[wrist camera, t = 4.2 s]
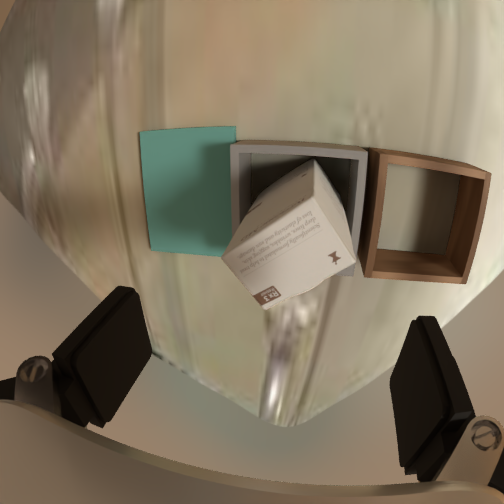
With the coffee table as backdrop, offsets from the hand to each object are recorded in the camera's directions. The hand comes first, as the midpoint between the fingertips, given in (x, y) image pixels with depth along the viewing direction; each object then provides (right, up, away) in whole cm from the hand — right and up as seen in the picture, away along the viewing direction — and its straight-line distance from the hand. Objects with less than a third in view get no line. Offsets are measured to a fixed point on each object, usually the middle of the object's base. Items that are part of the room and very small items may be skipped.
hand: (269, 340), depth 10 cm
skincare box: (+3, +8, +16) cm, 18 cm away
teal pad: (-6, +8, +18) cm, 21 cm away
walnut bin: (+14, +7, +14) cm, 21 cm away
